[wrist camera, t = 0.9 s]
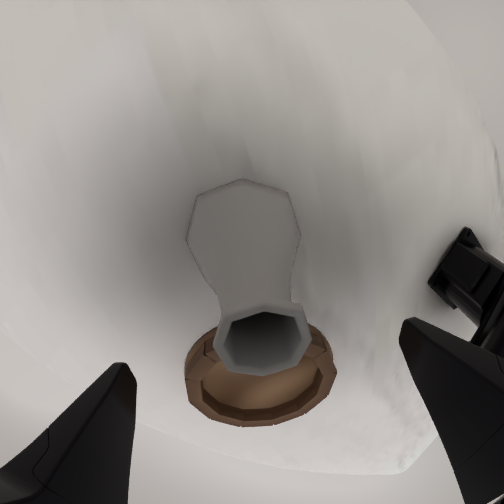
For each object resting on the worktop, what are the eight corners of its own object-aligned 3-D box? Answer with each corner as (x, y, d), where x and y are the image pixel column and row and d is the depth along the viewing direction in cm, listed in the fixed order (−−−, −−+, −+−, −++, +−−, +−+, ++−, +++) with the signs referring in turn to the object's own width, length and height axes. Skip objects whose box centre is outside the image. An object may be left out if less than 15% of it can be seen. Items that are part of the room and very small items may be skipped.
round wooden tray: (358, 346, 23) (367, 362, 21) (274, 421, 26) (277, 436, 25) (234, 287, 19) (235, 304, 17) (163, 387, 23) (160, 404, 21)
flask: (181, 181, 16) (125, 244, 7) (301, 177, 16) (389, 232, 7) (192, 287, 19) (173, 409, 10) (296, 281, 19) (346, 394, 10)
